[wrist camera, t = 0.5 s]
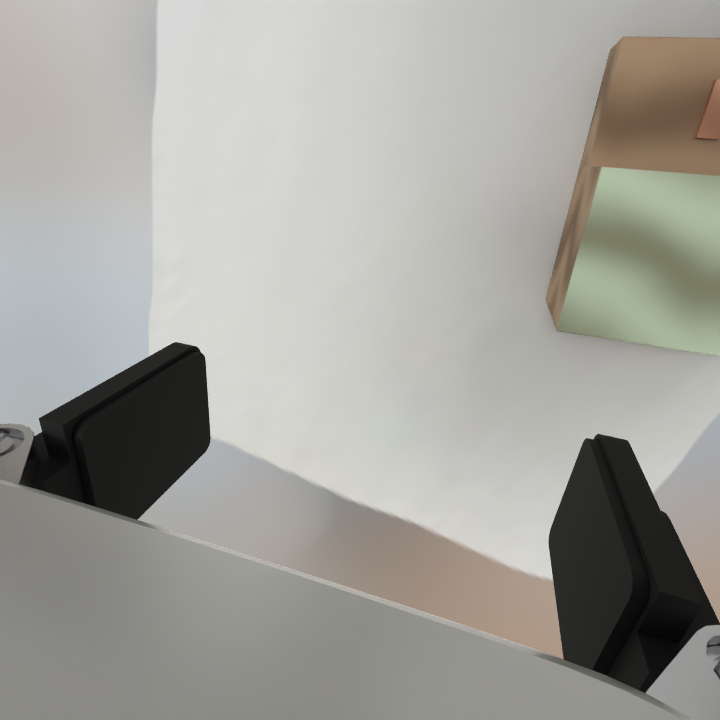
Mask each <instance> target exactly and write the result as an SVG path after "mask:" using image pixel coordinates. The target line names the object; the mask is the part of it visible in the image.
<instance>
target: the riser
mask: <svg viewBox="0 0 720 720" xmlns="http://www.w3.org/2000/svg"><path fill="white" fill-rule="evenodd" d="M546 301H547V304H548V307H549V310H550V313H551V316H552V319H553V321H554V324H555V327H556V330H557V331H561V332H567V333H574V334H580V335H587V336H593V337H599V338H606V339H612V340H619V341H625V342H631V343H638V344H644V345H651V346H657V347H663V348H670V349H676V350H683V351H689V352H695V353H702V354H708V355H715V356H720V38H675V37H623V38H622V39H621V40H620V41H619V42H618V43H617V44H616V45H615V46H614V47H613V48H612V49H611V50H610V53H609V57H608V61H607V64H606V68H605V72H604V76H603V80H602V84H601V88H600V92H599V95H598V99H597V103H596V107H595V111H594V115H593V119H592V122H591V126H590V130H589V134H588V138H587V142H586V146H585V149H584V153H583V157H582V161H581V165H580V169H579V173H578V176H577V180H576V184H575V188H574V192H573V196H572V200H571V204H570V207H569V211H568V215H567V219H566V223H565V227H564V231H563V234H562V238H561V242H560V246H559V250H558V254H557V258H556V261H555V265H554V269H553V273H552V277H551V281H550V285H549V288H548V292H547V296H546Z"/></svg>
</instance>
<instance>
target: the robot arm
mask: <svg viewBox="0 0 720 720" xmlns="http://www.w3.org/2000/svg"><path fill="white" fill-rule="evenodd" d="M39 421H40V425H41V428H42V432H41V433H39V434H38V435H36V436H34V432H33V431H32V430H31V429H30V428H29V427H26V426H24V425H19V424H0V720H720V623H719V621H718V619H717V617H716V615H715V612H714V610H713V608H712V606H711V604H710V602H709V600H708V598H707V596H706V594H705V592H704V590H703V588H702V585H701V583H700V581H699V579H698V577H697V575H696V573H695V571H694V569H693V566H692V564H691V562H690V560H689V558H688V556H687V554H686V552H685V550H684V548H683V546H682V543H681V541H680V540H679V537H678V535H677V533H676V531H675V529H674V527H673V525H672V523H671V521H670V519H669V517H668V516H667V514H666V513H664V512H662V511H660V509H659V506H658V504H657V502H656V500H655V498H654V496H653V493H652V491H651V489H650V487H649V485H648V482H647V480H646V478H645V476H644V474H643V472H642V470H641V467H640V465H639V463H638V461H637V459H636V457H635V454H634V452H633V450H632V448H631V446H630V444H629V442H628V441H627V440H624V439H619V438H614V437H610V436H605V435H601V434H598V435H596V436H595V437H594V439H588V438H587V439H585V440H584V442H583V444H582V447H581V450H580V452H579V455H578V458H577V460H576V463H575V465H574V468H573V471H572V473H571V476H570V479H569V481H568V484H567V487H566V489H565V492H564V495H563V497H562V500H561V503H560V505H559V508H558V511H557V513H556V516H555V519H554V521H553V524H552V527H551V530H550V534H549V551H550V558H551V566H552V573H553V581H554V588H555V596H556V604H557V611H558V619H559V626H560V634H561V641H562V650H563V657H564V660H563V659H561V658H558V657H555V656H552V655H550V654H547V653H544V652H541V651H539V650H536V649H533V648H530V647H527V646H525V645H521V644H518V643H516V642H513V641H510V640H506V639H504V638H501V637H498V636H494V635H492V634H489V633H485V632H483V631H480V630H477V629H474V628H471V627H468V626H465V625H462V624H460V623H456V622H453V621H450V620H447V619H444V618H441V617H438V616H435V615H432V614H429V613H426V612H423V611H420V610H417V609H414V608H410V607H407V606H404V605H401V604H398V603H395V602H392V601H389V600H386V599H383V598H380V597H376V596H373V595H370V594H368V593H364V592H361V591H358V590H355V589H352V588H349V587H346V586H343V585H340V584H337V583H334V582H331V581H328V580H324V579H321V578H318V577H315V576H312V575H309V574H306V573H303V572H299V571H296V570H293V569H290V568H287V567H284V566H281V565H278V564H275V563H272V562H268V561H265V560H262V559H259V558H256V557H253V556H250V555H247V554H243V553H240V552H237V551H234V550H231V549H227V548H225V547H221V546H218V545H215V544H212V543H209V542H206V541H202V540H199V539H196V538H193V537H190V536H187V535H184V534H181V533H177V532H174V531H170V530H168V529H164V528H161V527H158V526H155V525H152V524H149V523H145V522H142V521H139V520H137V519H138V518H140V516H141V515H142V514H144V513H145V511H146V510H147V509H149V508H150V506H152V505H153V504H154V503H155V502H156V500H157V499H158V498H160V497H161V495H163V494H164V492H166V491H167V490H168V489H169V488H170V487H171V486H172V485H173V484H174V483H175V482H176V481H177V480H178V479H179V478H180V477H181V476H182V475H183V474H184V473H185V472H186V471H187V470H188V469H189V468H190V467H191V466H192V465H193V464H194V463H195V462H196V461H197V460H198V459H199V458H200V457H201V456H202V455H203V454H204V453H205V452H206V450H207V448H208V447H209V444H210V424H209V408H208V393H207V378H206V362H205V357H204V355H203V354H202V353H201V352H200V350H199V348H198V347H196V346H191V345H187V344H182V343H177V342H175V343H172V344H171V345H169V346H167V347H165V348H163V349H162V350H160V351H158V352H156V353H154V354H153V355H151V356H149V357H147V358H146V359H144V360H142V361H140V362H138V363H137V364H135V365H133V366H131V367H130V368H128V369H126V370H124V371H123V372H121V373H119V374H117V375H115V376H114V377H112V378H110V379H108V380H106V381H105V382H103V383H101V384H99V385H98V386H96V387H94V388H92V389H91V390H89V391H87V392H85V393H83V394H82V395H80V396H78V397H76V398H74V399H73V400H71V401H69V402H67V403H66V404H64V405H62V406H60V407H58V408H57V409H55V410H53V411H51V412H50V413H48V414H46V415H44V416H42V417H41V418H39Z"/></svg>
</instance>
